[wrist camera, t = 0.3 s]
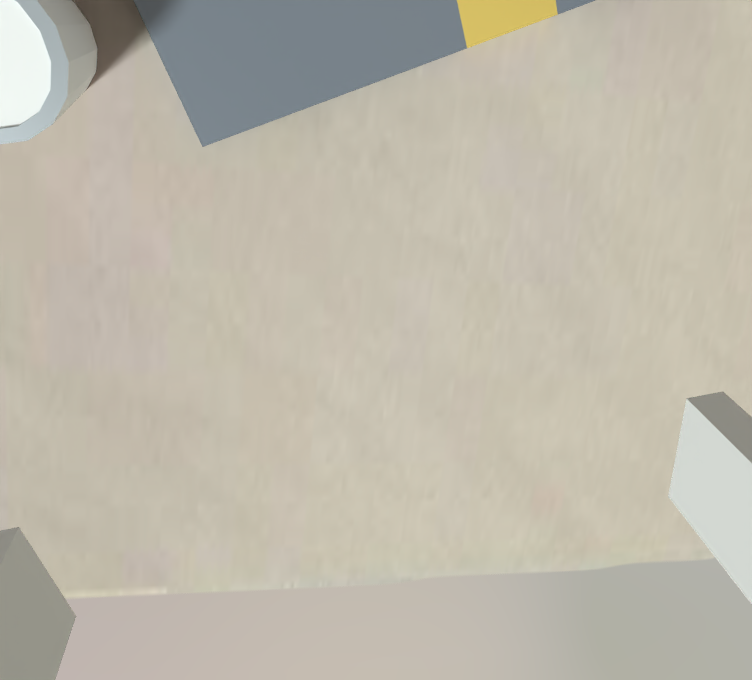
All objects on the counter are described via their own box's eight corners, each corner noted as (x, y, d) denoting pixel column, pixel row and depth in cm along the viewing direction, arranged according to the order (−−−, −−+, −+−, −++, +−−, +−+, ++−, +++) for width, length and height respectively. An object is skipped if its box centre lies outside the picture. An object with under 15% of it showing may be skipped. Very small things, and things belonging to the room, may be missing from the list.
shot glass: (-59, -47, 27) (-157, -59, 21) (100, -31, 28) (51, -38, 22) (-22, 112, 30) (-97, 140, 24) (119, 121, 31) (81, 150, 25)
